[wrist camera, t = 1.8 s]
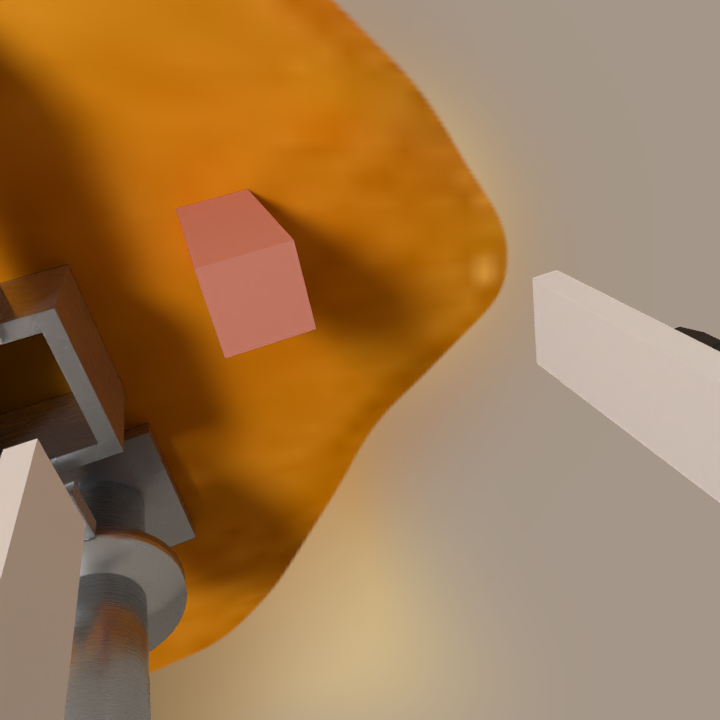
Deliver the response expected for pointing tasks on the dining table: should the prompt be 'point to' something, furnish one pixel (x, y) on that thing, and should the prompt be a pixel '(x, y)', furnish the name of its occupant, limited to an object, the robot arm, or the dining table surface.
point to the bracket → (79, 366)
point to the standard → (124, 577)
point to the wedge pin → (246, 272)
